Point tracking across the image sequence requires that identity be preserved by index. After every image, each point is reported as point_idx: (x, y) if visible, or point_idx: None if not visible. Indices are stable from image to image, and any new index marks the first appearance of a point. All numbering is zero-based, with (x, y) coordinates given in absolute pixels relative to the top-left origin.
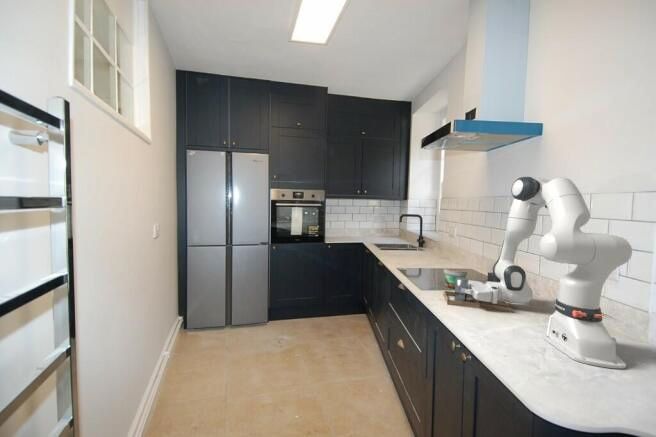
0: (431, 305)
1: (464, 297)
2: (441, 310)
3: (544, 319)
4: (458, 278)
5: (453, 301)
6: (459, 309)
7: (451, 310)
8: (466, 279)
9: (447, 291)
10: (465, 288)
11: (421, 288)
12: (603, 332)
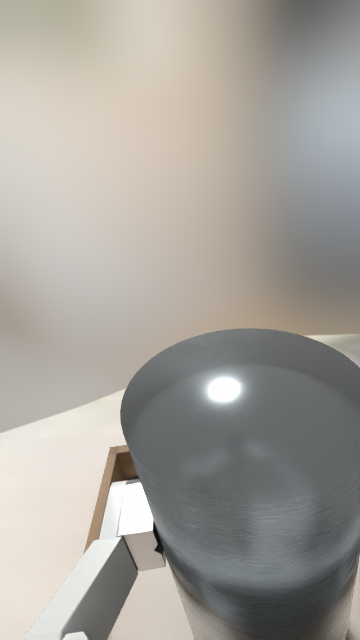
0: (94, 403)
1: (188, 619)
2: (22, 445)
3: None
4: (239, 346)
5: (102, 492)
6: (18, 565)
7: (11, 498)
8: (261, 451)
9: None
10: (164, 548)
11: (352, 342)
12: None
